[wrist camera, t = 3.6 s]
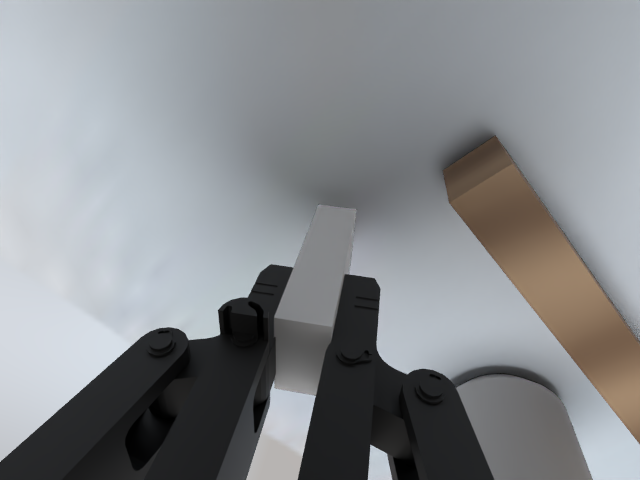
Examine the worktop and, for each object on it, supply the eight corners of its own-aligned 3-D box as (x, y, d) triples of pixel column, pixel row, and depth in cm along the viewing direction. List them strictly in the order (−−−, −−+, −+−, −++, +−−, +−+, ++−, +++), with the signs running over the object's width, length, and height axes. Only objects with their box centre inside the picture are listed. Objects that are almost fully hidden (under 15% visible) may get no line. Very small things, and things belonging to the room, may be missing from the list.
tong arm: (442, 170, 16) (449, 202, 14) (495, 135, 15) (512, 163, 13) (625, 408, 21) (654, 462, 18) (675, 393, 20) (712, 449, 17)
